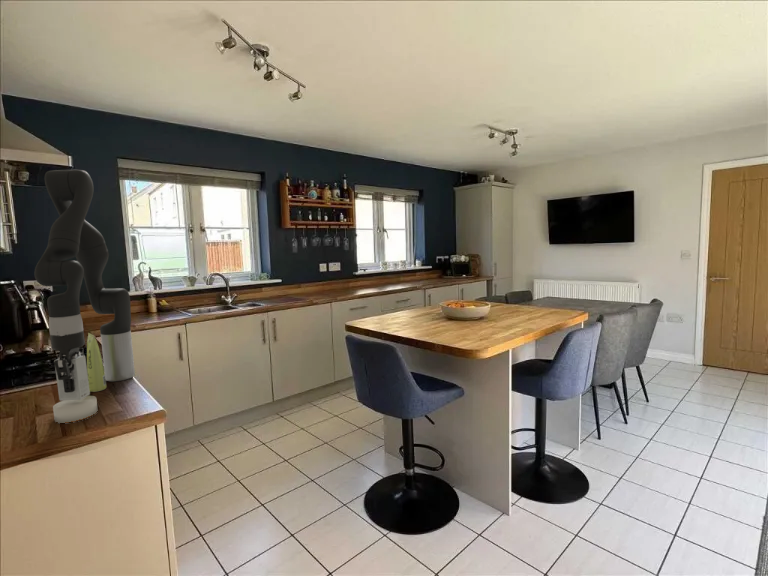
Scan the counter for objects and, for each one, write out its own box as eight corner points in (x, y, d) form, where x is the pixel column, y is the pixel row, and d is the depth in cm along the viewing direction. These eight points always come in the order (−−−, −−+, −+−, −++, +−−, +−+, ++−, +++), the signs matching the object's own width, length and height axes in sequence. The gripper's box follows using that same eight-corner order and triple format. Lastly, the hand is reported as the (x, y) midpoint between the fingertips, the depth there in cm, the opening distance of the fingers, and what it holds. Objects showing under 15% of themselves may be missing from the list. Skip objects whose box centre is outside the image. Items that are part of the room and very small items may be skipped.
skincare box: (90, 394, 118) (86, 355, 116) (80, 400, 114) (75, 359, 112) (69, 394, 118) (64, 355, 116) (58, 400, 113) (53, 360, 112)
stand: (63, 411, 119) (61, 398, 119) (102, 406, 122) (101, 393, 122) (48, 426, 110) (46, 412, 109) (91, 420, 113) (89, 406, 113)
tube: (83, 392, 134) (76, 335, 131) (94, 386, 139) (88, 332, 136) (100, 392, 134) (94, 335, 131) (110, 386, 139) (104, 331, 136)
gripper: (61, 326, 118) (68, 381, 121) (38, 338, 105) (46, 399, 107) (91, 324, 121) (97, 378, 123) (72, 335, 107) (79, 395, 110)
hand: (73, 388), depth 115 cm, fingers closed on skincare box, 5 cm apart
